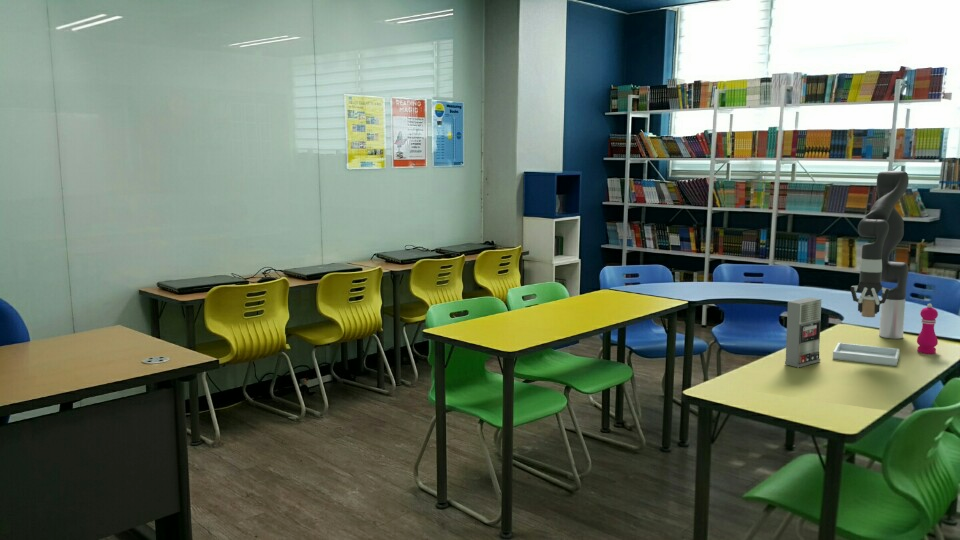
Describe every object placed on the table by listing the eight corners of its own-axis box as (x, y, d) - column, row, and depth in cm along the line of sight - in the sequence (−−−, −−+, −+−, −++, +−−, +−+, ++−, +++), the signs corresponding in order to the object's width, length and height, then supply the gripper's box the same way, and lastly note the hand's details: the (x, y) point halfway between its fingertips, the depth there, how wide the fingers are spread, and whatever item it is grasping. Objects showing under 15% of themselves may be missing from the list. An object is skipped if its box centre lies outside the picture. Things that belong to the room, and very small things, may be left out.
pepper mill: (940, 354, 288) (943, 305, 285) (920, 354, 290) (923, 305, 287) (932, 349, 295) (936, 302, 292) (913, 349, 297) (916, 301, 294)
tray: (838, 349, 299) (838, 342, 299) (899, 356, 288) (899, 348, 287) (832, 358, 286) (833, 351, 286) (896, 366, 274) (896, 358, 274)
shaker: (861, 314, 289) (862, 294, 288) (875, 315, 286) (877, 295, 285) (860, 316, 285) (861, 296, 284) (874, 317, 282) (876, 297, 281)
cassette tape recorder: (799, 368, 275) (801, 304, 271) (784, 364, 280) (787, 301, 276) (820, 362, 282) (823, 299, 279) (806, 358, 287) (809, 297, 284)
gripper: (892, 270, 282) (889, 313, 285) (851, 268, 290) (849, 309, 292) (891, 272, 276) (888, 316, 278) (849, 270, 284) (847, 312, 286)
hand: (868, 312), depth 285 cm, fingers closed on shaker, 4 cm apart
